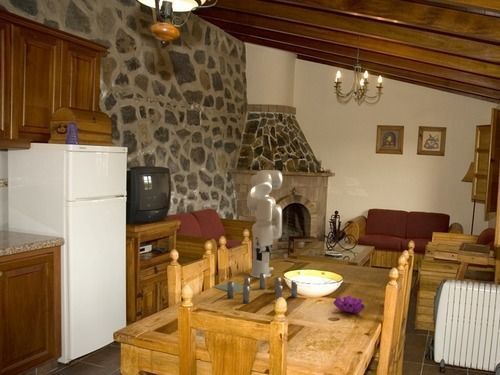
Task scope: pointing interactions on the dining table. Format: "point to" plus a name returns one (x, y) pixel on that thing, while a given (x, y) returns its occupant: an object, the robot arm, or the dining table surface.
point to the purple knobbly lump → (349, 304)
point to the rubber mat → (236, 287)
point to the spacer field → (261, 286)
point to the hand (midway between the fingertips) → (263, 259)
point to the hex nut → (264, 257)
